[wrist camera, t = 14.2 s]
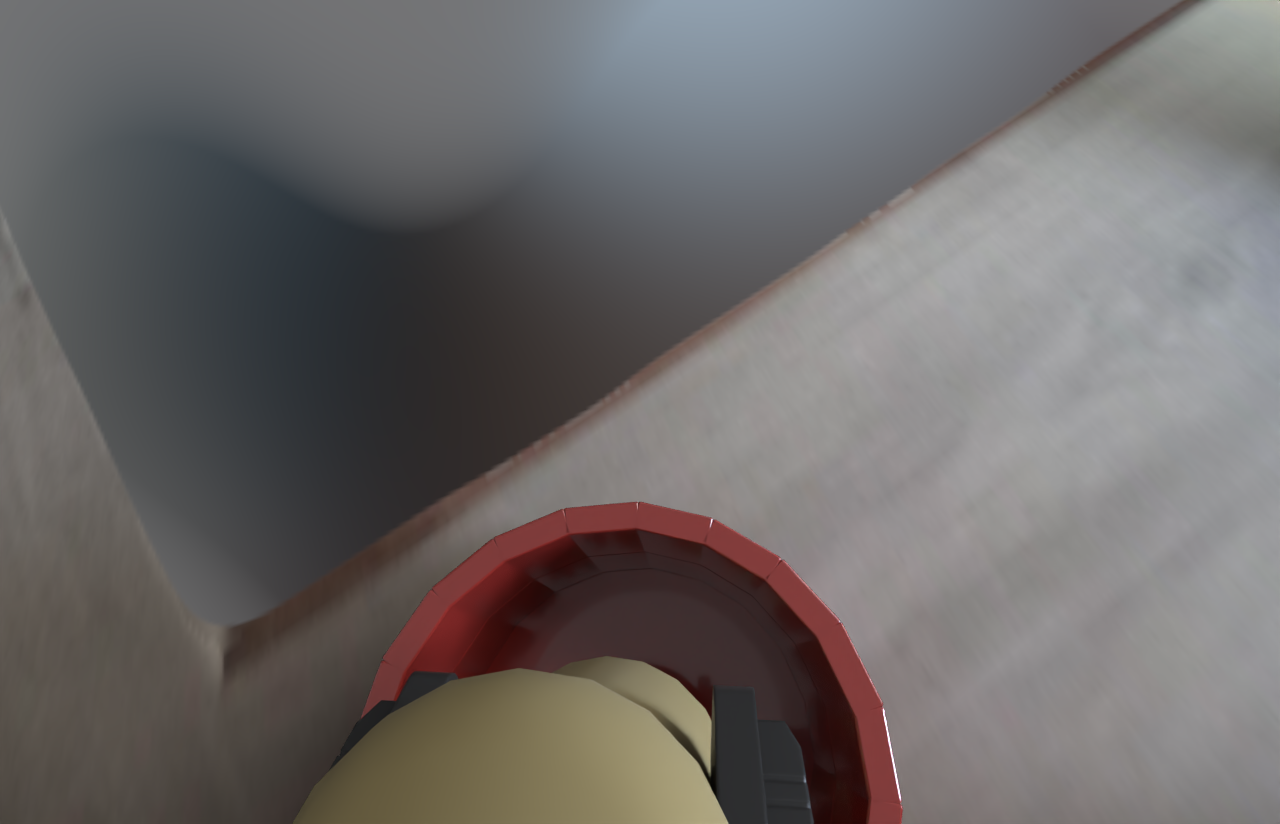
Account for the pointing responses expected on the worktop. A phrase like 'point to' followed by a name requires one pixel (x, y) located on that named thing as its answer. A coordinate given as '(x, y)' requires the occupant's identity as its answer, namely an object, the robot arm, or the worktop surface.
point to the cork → (531, 753)
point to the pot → (664, 633)
